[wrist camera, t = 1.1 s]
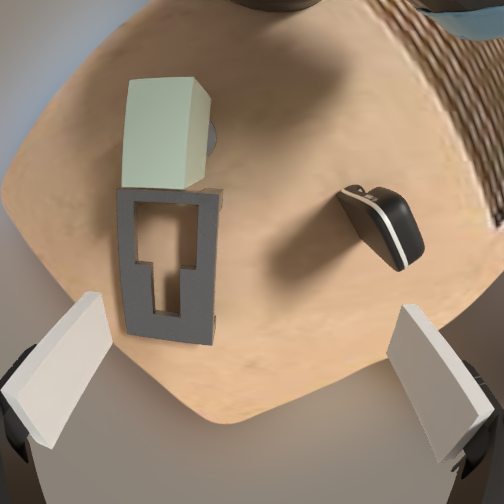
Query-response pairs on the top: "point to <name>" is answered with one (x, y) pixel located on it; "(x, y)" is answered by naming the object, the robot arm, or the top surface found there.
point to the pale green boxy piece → (166, 133)
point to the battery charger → (384, 224)
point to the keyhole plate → (191, 277)
